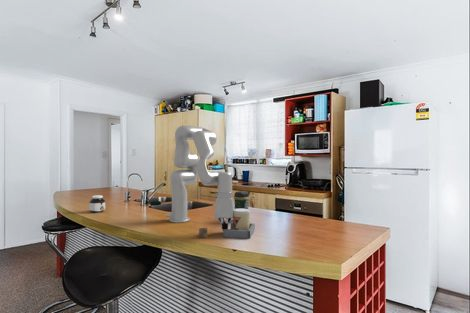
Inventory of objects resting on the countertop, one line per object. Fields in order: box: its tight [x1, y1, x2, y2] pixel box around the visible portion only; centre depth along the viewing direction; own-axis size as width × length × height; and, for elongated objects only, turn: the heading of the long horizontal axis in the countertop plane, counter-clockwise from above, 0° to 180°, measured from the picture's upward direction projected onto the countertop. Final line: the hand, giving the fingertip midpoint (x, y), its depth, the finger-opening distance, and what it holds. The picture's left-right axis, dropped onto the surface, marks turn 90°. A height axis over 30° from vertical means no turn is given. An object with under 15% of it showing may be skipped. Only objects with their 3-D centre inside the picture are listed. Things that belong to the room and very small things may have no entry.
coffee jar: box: [233, 190, 250, 209], centre depth 172 cm, size 10×8×19 cm
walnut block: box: [198, 227, 208, 239], centre depth 136 cm, size 4×4×4 cm
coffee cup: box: [232, 208, 251, 231], centre depth 143 cm, size 9×9×12 cm
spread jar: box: [88, 194, 106, 214], centre depth 202 cm, size 12×11×12 cm
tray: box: [223, 221, 256, 239], centre depth 142 cm, size 13×16×4 cm
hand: (224, 230), depth 144 cm, fingers closed
